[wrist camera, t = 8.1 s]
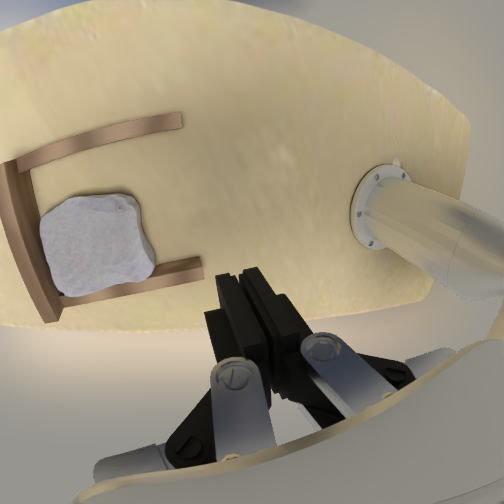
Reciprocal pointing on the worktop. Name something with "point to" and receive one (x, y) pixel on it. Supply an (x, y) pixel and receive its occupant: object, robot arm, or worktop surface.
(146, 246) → the stone block
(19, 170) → the brown u-shaped frame
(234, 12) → the worktop surface
